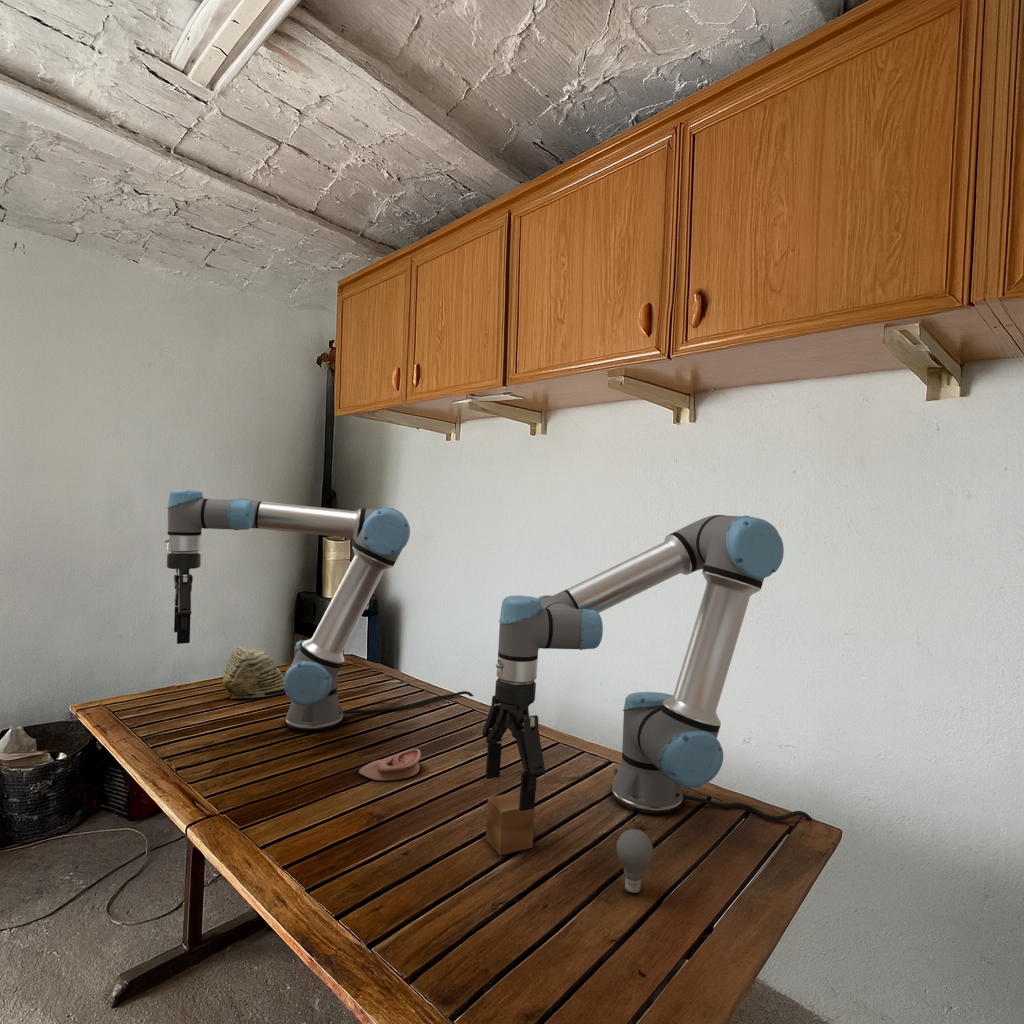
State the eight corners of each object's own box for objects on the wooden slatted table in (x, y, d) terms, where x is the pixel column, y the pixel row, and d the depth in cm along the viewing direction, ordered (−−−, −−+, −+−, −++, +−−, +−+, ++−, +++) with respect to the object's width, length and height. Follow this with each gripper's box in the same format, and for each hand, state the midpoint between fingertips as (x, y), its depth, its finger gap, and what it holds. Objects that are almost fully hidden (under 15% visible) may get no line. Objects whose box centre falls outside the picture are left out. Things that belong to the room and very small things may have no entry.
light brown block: (485, 839, 120) (487, 797, 120) (517, 831, 123) (519, 791, 123) (500, 855, 115) (502, 811, 114) (532, 847, 118) (534, 804, 118)
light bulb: (610, 879, 108) (613, 822, 108) (644, 879, 109) (647, 822, 109) (619, 902, 102) (622, 840, 102) (655, 901, 103) (658, 840, 103)
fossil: (218, 695, 195) (220, 647, 195) (278, 685, 208) (279, 640, 207) (228, 703, 189) (230, 653, 188) (289, 692, 201) (290, 645, 201)
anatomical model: (353, 759, 143) (374, 741, 154) (352, 777, 143) (373, 757, 154) (408, 767, 140) (426, 748, 152) (408, 785, 140) (425, 764, 152)
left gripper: (164, 547, 166) (162, 628, 166) (168, 557, 144) (166, 649, 145) (196, 547, 170) (194, 626, 170) (205, 556, 148) (202, 647, 149)
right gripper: (470, 663, 127) (463, 768, 128) (532, 701, 106) (523, 828, 106) (503, 661, 131) (496, 763, 131) (569, 697, 109) (561, 820, 109)
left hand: (181, 637), depth 157 cm, fingers open, 13 cm apart
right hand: (508, 792), depth 119 cm, fingers open, 13 cm apart
